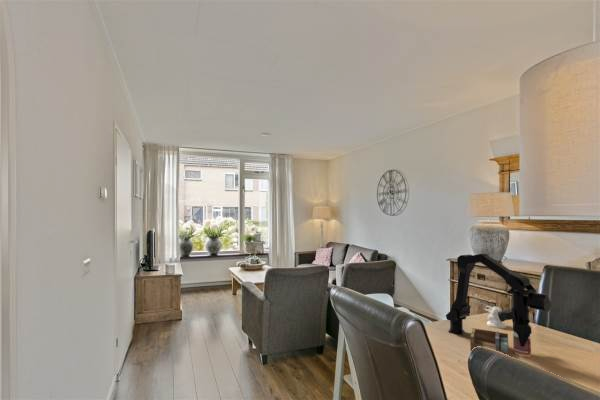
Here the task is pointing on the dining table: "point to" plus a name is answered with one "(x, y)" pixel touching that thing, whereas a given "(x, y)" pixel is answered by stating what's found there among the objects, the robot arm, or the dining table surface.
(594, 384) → the dining table surface
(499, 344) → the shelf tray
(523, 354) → the pill bottle
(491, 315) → the figurine
